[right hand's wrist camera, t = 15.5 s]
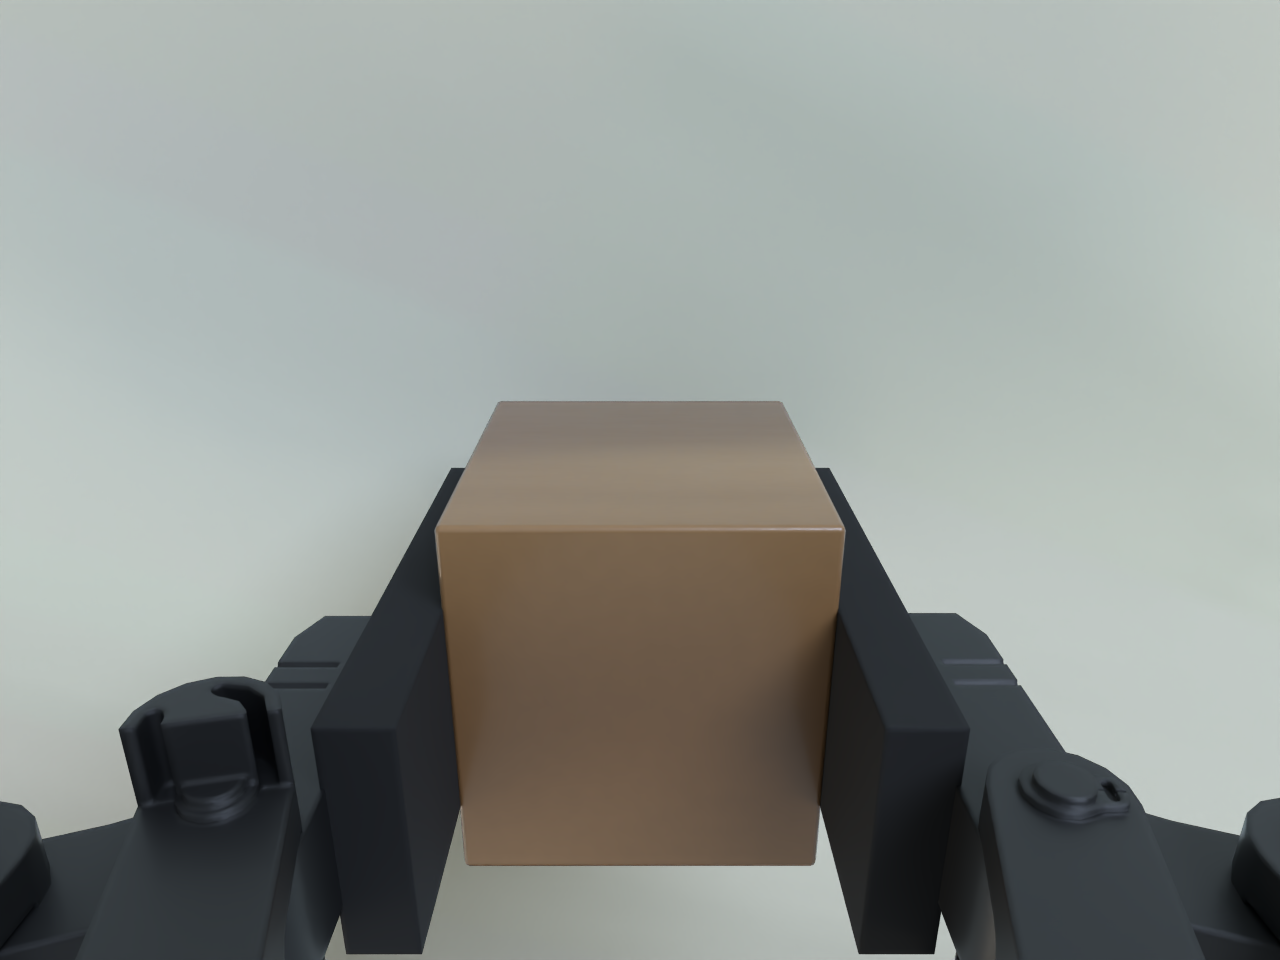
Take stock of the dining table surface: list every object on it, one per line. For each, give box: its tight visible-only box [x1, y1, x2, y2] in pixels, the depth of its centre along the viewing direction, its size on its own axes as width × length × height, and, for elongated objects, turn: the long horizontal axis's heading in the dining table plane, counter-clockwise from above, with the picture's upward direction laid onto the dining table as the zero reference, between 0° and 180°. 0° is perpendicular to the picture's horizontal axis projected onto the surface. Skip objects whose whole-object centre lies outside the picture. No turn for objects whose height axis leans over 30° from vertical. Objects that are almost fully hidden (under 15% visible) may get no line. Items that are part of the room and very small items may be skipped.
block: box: [435, 401, 846, 866], centre depth 13 cm, size 5×4×5 cm
